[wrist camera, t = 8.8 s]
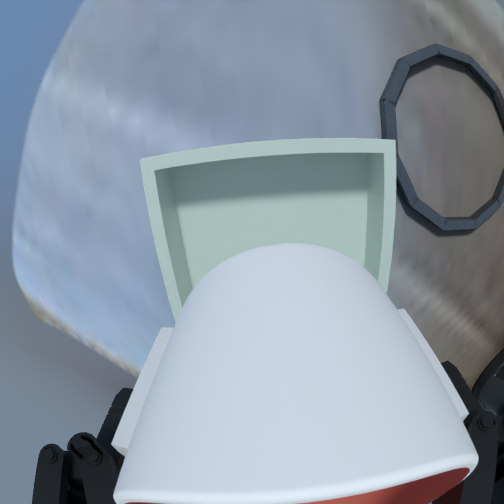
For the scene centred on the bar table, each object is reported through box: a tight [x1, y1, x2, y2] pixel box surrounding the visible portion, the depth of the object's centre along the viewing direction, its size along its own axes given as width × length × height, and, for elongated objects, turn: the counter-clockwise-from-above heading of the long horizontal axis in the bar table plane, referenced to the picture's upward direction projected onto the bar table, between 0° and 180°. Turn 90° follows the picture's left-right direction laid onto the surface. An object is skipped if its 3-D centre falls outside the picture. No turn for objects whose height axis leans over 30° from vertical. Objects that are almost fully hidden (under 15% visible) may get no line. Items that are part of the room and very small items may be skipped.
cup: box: [113, 243, 479, 504], centre depth 9 cm, size 10×10×10 cm
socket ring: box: [379, 44, 504, 231], centre depth 18 cm, size 18×18×1 cm
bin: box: [140, 138, 396, 323], centre depth 22 cm, size 18×18×4 cm
